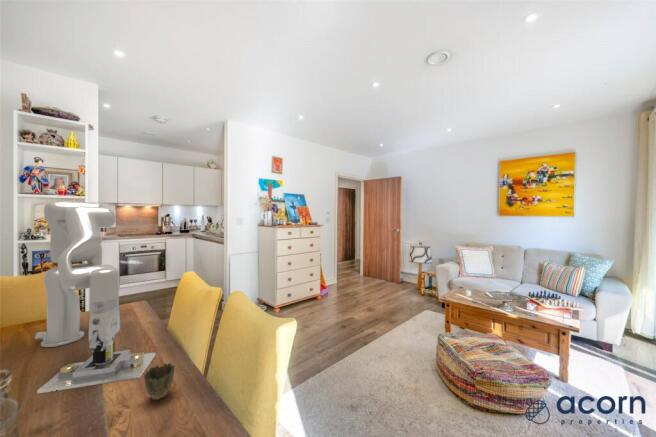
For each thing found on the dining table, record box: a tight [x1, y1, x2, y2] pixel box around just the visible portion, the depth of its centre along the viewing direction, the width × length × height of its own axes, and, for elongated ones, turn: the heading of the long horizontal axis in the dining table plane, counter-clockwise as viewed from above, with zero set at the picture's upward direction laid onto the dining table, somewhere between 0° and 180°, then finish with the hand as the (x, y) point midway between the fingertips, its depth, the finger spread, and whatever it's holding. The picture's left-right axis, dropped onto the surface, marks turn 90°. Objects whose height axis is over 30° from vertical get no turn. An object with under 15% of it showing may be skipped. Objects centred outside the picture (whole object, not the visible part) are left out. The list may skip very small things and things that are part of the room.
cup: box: [143, 362, 175, 401], centre depth 73 cm, size 8×7×8 cm
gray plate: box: [36, 349, 156, 395], centre depth 85 cm, size 26×14×4 cm, turn 108°
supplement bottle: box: [95, 338, 113, 365], centre depth 85 cm, size 5×5×8 cm
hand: (104, 357), depth 85 cm, fingers closed on supplement bottle, 4 cm apart
